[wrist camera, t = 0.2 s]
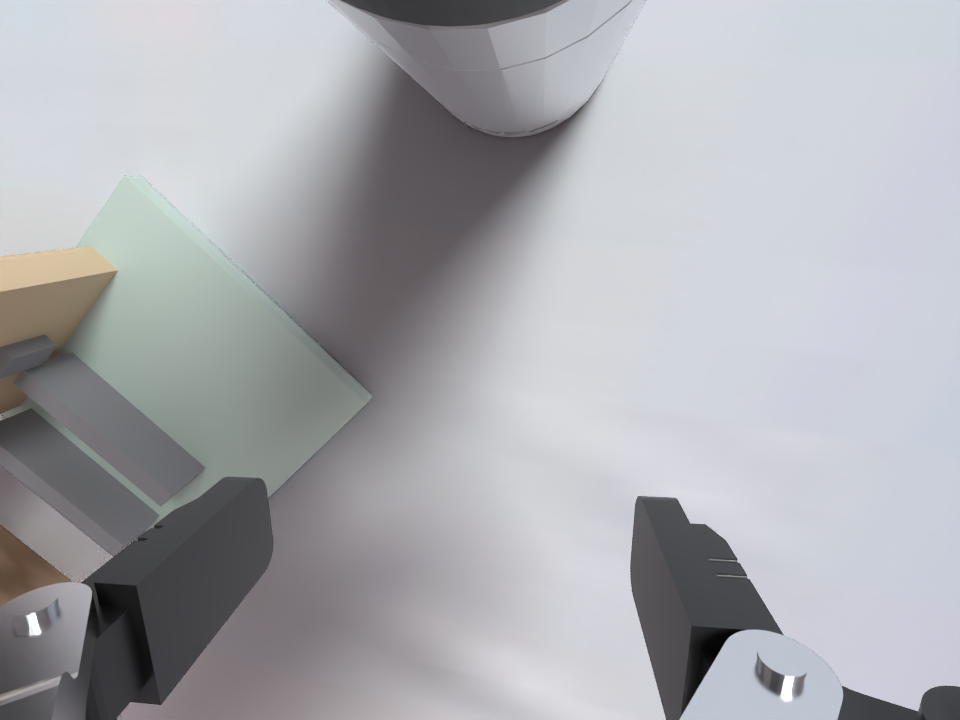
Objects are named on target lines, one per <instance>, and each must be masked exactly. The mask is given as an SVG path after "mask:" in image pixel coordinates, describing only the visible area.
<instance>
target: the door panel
mask: <svg viewBox="0 0 960 720" xmlns="http://www.w3.org/2000/svg"><path fill="white" fill-rule="evenodd" d="M70 581H71V580H69V579H68V578H67V577H66V576H64V575H63V574H62V573H61V572H59V571H58V570H57V569H55V568H54V567H53V566H52V565H50V564H49V563H48V562H46V561H45V560H44V559H43V558H41V557H40V556H39V555H38V554H36V553H35V552H34V551H32V550H31V549H30V548H29V547H27V546H26V545H25V544H24V543H22V542H21V541H20V540H18V539H17V538H16V537H15V536H13V535H12V534H11V533H10V532H8V531H7V530H6V529H4V528H3V527H2V526H1V525H0V606H2V605H4V604H5V603H7V602H9V601H10V600H12V599H14V598H16V597H18V596H20V595H22V594H25V593H27V592H30V591H32V590H35V589H38V588H41V587H44V586H48V585H52V584H57V583H65V582H70Z"/></svg>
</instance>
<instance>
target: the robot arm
mask: <svg viewBox="0 0 960 720" xmlns="http://www.w3.org/2000/svg"><path fill="white" fill-rule="evenodd" d="M326 1H327V2H328V3H329V4H330V5H331V6H332V7H334V8H335V9H336V10H337V11H338V12H339V13H341V14H342V15H343V16H344V17H345V18H346V19H348V20H349V21H350V22H351V23H352V24H353V25H354V26H355V27H356V28H358V29H359V30H360V31H361V32H362V33H363V34H364V35H365V36H366V37H367V38H369V39H370V40H371V41H372V42H373V43H374V44H375V45H376V46H377V47H379V48H380V49H381V50H382V51H383V52H384V53H385V54H386V55H387V56H389V57H390V58H391V59H392V60H393V61H394V62H395V63H396V64H397V65H398V66H400V67H401V68H402V69H403V70H404V71H405V72H406V73H407V74H408V75H410V76H411V77H412V78H413V79H414V80H415V81H416V82H417V83H418V84H420V85H421V86H422V87H423V88H424V89H425V90H426V91H427V92H428V93H429V94H431V95H432V96H433V97H434V98H435V99H436V100H437V101H438V102H439V103H440V104H442V105H443V106H444V107H445V108H446V109H447V110H448V111H449V112H450V113H452V114H453V115H454V116H455V117H456V118H458V119H459V120H461V121H462V122H463V123H465V124H467V125H468V126H470V127H472V128H473V129H476V130H479V131H482V132H484V133H487V134H490V135H494V136H503V137H511V138H513V137H522V136H530V135H535V134H537V133H540V132H543V131H546V130H549V129H552V128H553V127H555V126H557V125H558V124H560V123H562V122H563V121H565V120H566V119H568V118H570V117H571V116H572V115H573V114H574V113H575V112H576V111H578V110H579V109H580V108H581V107H582V106H583V105H584V104H585V103H586V102H587V101H588V100H589V98H590V97H591V96H592V94H593V93H594V91H595V90H596V89H597V87H598V86H599V84H600V83H601V81H602V80H603V78H604V76H605V74H606V72H607V70H608V69H609V67H610V65H611V64H612V62H613V60H614V58H615V57H616V55H617V53H618V51H619V49H620V47H621V46H622V44H623V42H624V40H625V38H626V37H627V35H628V33H629V31H630V29H631V27H632V26H633V24H634V22H635V20H636V18H637V16H638V15H639V13H640V11H641V9H642V7H643V5H644V4H645V2H646V0H326ZM272 551H273V535H272V527H271V519H270V511H269V503H268V495H267V488H266V484H265V482H264V481H263V480H262V479H261V478H249V477H224V478H222V479H221V480H220V481H218V482H217V483H216V484H215V485H213V486H212V487H211V488H210V489H209V490H207V491H206V492H205V493H204V494H202V495H201V496H200V497H199V498H197V499H195V500H193V501H191V502H189V503H187V504H185V505H183V506H181V507H179V508H177V509H175V510H173V511H172V512H170V513H169V514H168V515H166V516H165V517H164V518H163V519H161V520H160V521H159V522H158V523H156V524H155V525H154V528H150V529H149V530H147V531H146V532H145V533H144V534H142V535H141V536H140V537H139V538H138V541H133V542H132V543H131V544H130V545H128V546H127V547H126V548H125V549H123V550H122V551H121V552H120V553H118V554H117V555H116V556H114V557H113V558H112V559H111V560H109V561H108V562H107V563H106V564H104V565H103V566H102V567H100V568H99V569H98V570H97V571H95V572H94V573H93V574H92V575H90V576H89V577H88V578H87V579H85V580H84V581H83V582H81V583H78V582H65V583H57V584H52V585H48V586H44V587H41V588H38V589H35V590H32V591H30V592H27V593H25V594H22V595H20V596H18V597H16V598H14V599H12V600H10V601H9V602H7V603H5V604H4V605H2V606H0V720H122V719H121V712H122V711H123V710H124V709H125V708H126V706H127V705H128V704H129V703H130V702H136V703H147V704H157V705H161V704H162V703H163V702H164V700H165V699H166V698H167V696H168V695H169V694H170V693H171V691H172V690H173V689H174V688H175V686H176V685H177V684H178V682H179V681H180V680H181V679H182V677H183V676H184V675H185V673H186V672H187V671H188V670H189V668H190V667H191V666H192V664H193V663H194V662H195V661H196V659H197V658H198V657H199V655H200V654H201V653H202V652H203V650H204V649H205V648H206V646H207V645H208V644H209V643H210V641H211V640H212V639H213V637H214V636H215V635H216V634H217V632H218V631H219V630H220V628H221V627H222V626H223V625H224V623H225V622H226V621H227V619H228V618H229V617H230V616H231V614H232V613H233V612H234V610H235V609H236V608H237V607H238V605H239V604H240V603H241V601H242V600H243V599H244V598H245V596H246V595H247V594H248V592H249V591H250V590H251V589H252V587H253V586H254V585H255V583H256V582H257V581H258V580H259V578H260V577H261V576H262V574H263V573H264V572H265V570H266V569H267V567H268V565H269V562H270V559H271V556H272ZM630 572H631V586H632V593H633V597H634V601H635V605H636V608H637V612H638V616H639V620H640V623H641V627H642V631H643V635H644V638H645V642H646V646H647V649H648V653H649V657H650V661H651V664H652V668H653V672H654V675H655V679H656V683H657V687H658V690H659V694H660V698H661V702H662V705H663V709H664V713H665V716H666V720H960V687H957V686H938V687H934V688H931V689H929V690H928V691H927V692H925V694H924V695H923V697H922V700H921V703H920V707H919V711H915V710H911V709H908V708H905V707H902V706H899V705H895V704H892V703H889V702H886V701H883V700H880V699H876V698H873V697H870V696H867V695H864V694H861V693H858V692H855V691H853V690H850V689H848V688H846V687H844V686H842V685H841V683H840V681H839V678H838V677H837V675H836V674H835V672H834V671H833V669H832V668H831V667H830V666H829V665H828V664H827V663H826V662H825V661H824V660H823V659H822V658H821V657H820V656H819V655H818V654H816V653H815V652H814V651H812V650H811V649H809V648H808V647H806V646H805V645H803V644H801V643H799V642H797V641H796V640H794V639H791V638H789V637H786V636H784V635H783V633H782V632H781V630H780V628H779V627H778V625H777V623H776V622H775V620H774V619H773V617H772V615H771V614H770V612H769V610H768V609H767V607H766V605H765V604H764V602H763V601H762V599H761V597H760V596H759V594H758V592H757V591H756V589H755V587H754V586H753V584H752V583H751V581H750V579H747V574H746V573H745V571H744V569H743V568H742V566H741V565H740V563H738V562H737V558H736V556H735V555H734V553H733V551H732V550H731V548H730V546H729V545H728V543H727V542H726V540H724V539H723V538H722V537H721V536H719V535H718V534H717V533H716V532H714V531H713V530H712V529H711V528H709V527H708V526H707V525H705V524H690V522H689V520H688V519H687V517H686V515H685V513H684V511H683V509H682V507H681V505H680V503H679V501H678V500H677V499H676V498H668V497H646V496H638V497H637V499H636V504H635V514H634V526H633V539H632V551H631V566H630Z"/></svg>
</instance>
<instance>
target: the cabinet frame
mask: <svg viewBox="0 0 960 720" xmlns="http://www.w3.org/2000/svg"><path fill="white" fill-rule="evenodd" d="M372 397H373V396H372V395H371V394H370V393H369V392H368V391H367V390H366V389H365V388H364V387H363V386H362V385H361V384H360V383H359V382H357V381H356V380H355V379H354V378H353V377H352V376H351V375H350V374H349V373H348V372H347V371H346V370H345V369H344V368H343V367H342V366H341V365H340V364H339V363H338V362H336V361H335V360H334V359H333V358H332V357H331V356H330V355H329V354H328V353H327V352H326V351H325V350H324V349H323V348H322V347H321V346H320V345H319V344H318V343H317V342H315V341H314V340H313V339H312V338H311V337H310V336H309V335H308V334H307V333H306V332H305V331H304V330H303V329H302V328H301V327H300V326H299V325H298V324H297V323H295V322H294V321H293V320H292V319H291V318H290V317H289V316H288V315H287V314H286V313H285V312H284V311H283V310H282V309H281V308H280V307H279V306H278V305H277V304H276V303H274V302H273V301H272V300H271V299H270V298H269V297H268V296H267V295H266V294H265V293H264V292H263V291H262V290H261V289H260V288H259V287H258V286H257V285H256V284H255V283H253V282H252V281H251V280H250V279H249V278H248V277H247V276H246V275H245V274H244V273H243V272H242V271H241V270H240V269H239V268H238V267H237V266H236V265H235V264H234V263H232V262H231V261H230V260H229V259H228V258H227V257H226V256H225V255H224V254H223V253H222V252H221V251H220V250H219V249H218V248H217V247H216V246H215V245H214V244H212V243H211V242H210V241H209V240H208V239H207V238H206V237H205V236H204V235H203V234H202V233H201V232H200V231H199V230H198V229H197V228H196V227H195V226H194V225H193V224H191V223H190V222H189V221H188V220H187V219H186V218H185V217H184V216H183V215H182V214H181V213H180V212H179V211H178V210H177V209H176V208H175V207H174V206H173V205H172V204H170V203H169V202H168V201H167V200H166V199H165V198H164V197H163V196H162V195H161V194H160V193H159V192H158V191H157V190H156V189H155V188H154V187H153V186H152V185H151V184H149V183H148V182H147V181H146V180H145V179H144V178H143V177H142V176H127V175H124V177H123V178H122V180H121V181H120V183H119V184H118V186H117V187H116V189H115V190H114V192H113V193H112V195H111V196H110V198H109V199H108V200H107V202H106V203H105V205H104V206H103V208H102V209H101V211H100V212H99V214H98V215H97V217H96V218H95V220H94V221H93V223H92V224H91V226H90V227H89V229H88V230H87V232H86V233H85V235H84V236H83V237H82V239H81V240H80V242H79V243H78V245H77V246H76V248H71V249H62V250H54V251H45V252H36V253H28V254H19V255H11V256H2V257H0V414H2V415H3V416H4V417H5V418H6V419H4V420H2V421H0V466H2V467H3V468H4V469H5V470H7V471H8V472H9V473H10V474H12V475H13V476H14V477H15V478H17V479H18V480H19V481H20V482H22V483H23V484H24V485H25V486H26V487H28V488H29V489H30V490H31V491H33V492H34V493H35V494H36V495H38V496H39V497H40V498H41V499H43V500H44V501H45V502H46V503H48V504H49V505H50V506H51V507H53V508H54V509H55V510H56V511H58V512H59V513H60V514H61V515H62V516H64V517H65V518H66V519H67V520H69V521H70V522H71V523H72V524H74V525H75V526H76V527H77V528H79V529H80V530H81V531H82V532H84V533H85V534H86V535H87V536H89V537H90V538H91V539H92V540H93V541H95V542H96V543H97V544H98V545H100V546H101V547H102V548H103V549H105V550H106V551H107V552H108V553H110V554H111V555H112V556H113V557H114V556H115V555H116V554H117V553H119V552H120V551H121V550H122V549H123V548H124V547H126V546H127V545H128V544H129V543H130V542H132V541H133V540H134V539H135V538H136V537H137V536H139V535H140V534H141V533H142V532H143V531H144V532H146V531H147V530H149V529H150V528H154V525H155V524H156V523H158V522H159V521H160V520H161V519H163V518H164V517H165V516H166V515H168V514H169V513H170V512H172V511H173V510H175V509H177V508H179V507H181V506H183V505H185V504H187V503H189V502H191V501H193V500H195V499H197V498H199V497H200V496H201V495H202V494H204V493H205V492H206V491H207V490H209V489H210V488H211V487H212V486H213V485H215V484H216V483H217V482H218V481H220V480H221V479H222V478H224V477H249V478H261V479H262V480H263V481H264V482H265V484H266V488H267V495H268V498H269V497H270V496H271V495H272V494H273V493H274V492H275V491H276V490H277V489H278V488H279V487H280V486H281V485H283V484H284V483H285V482H286V481H287V480H288V479H289V478H290V477H291V476H292V475H293V474H294V473H295V472H296V471H297V470H298V469H299V468H300V467H301V466H302V465H303V464H304V463H306V462H307V461H308V460H309V459H310V458H311V457H312V456H313V455H314V454H315V453H316V452H317V451H318V450H319V449H320V448H321V447H322V446H323V445H324V444H325V443H326V442H327V441H329V440H330V439H331V438H332V437H333V436H334V435H335V434H336V433H337V432H338V431H339V430H340V429H341V428H342V427H343V426H344V425H345V424H346V423H347V422H348V421H349V420H350V419H351V418H353V417H354V416H355V415H356V414H357V413H358V412H359V411H360V410H361V409H362V408H363V407H364V406H365V405H366V404H367V403H368V402H369V400H370V399H371V398H372Z"/></svg>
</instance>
